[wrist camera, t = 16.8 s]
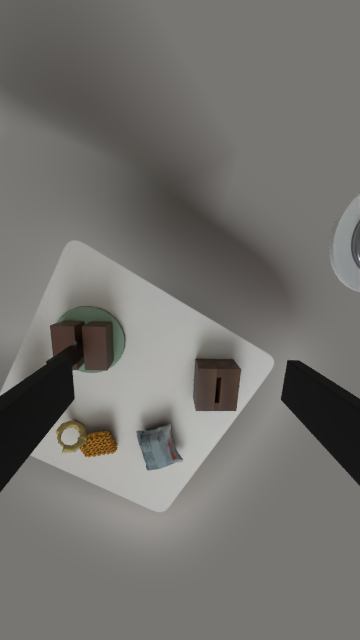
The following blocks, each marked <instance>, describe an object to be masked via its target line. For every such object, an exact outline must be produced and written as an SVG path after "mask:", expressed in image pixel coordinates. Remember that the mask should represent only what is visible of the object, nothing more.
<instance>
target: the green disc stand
mask: <svg viewBox="0 0 360 640" xmlns="http://www.w3.org/2000/svg"><path fill="white" fill-rule="evenodd" d="M50 329H51V339H52V348H53V357H54V356H55V355H57V354H58V353H60V352H61V351H63V350H64V349H66V348H67V347H69V346H70V345H73V346H75V341H76V340H78V339H80V338H81V337H83V351H84V357H83V358H82V359H81V360H80V361H79V362H77V363H76V364H75V365H74V366H73V367H72V370H79V371H82V372H87V373H97V372H102V371H105V370H108V369H109V368H111V367H112V366H113V365H115V364H116V363H117V362H118V360H119V359H120V357H121V356H122V354H123V351H124V348H125V335H124V332H123V329H122V327H121V325H120V324H119V322H118V321H117V320H116V319H115V317H113V316H112V315H111V314H110V313H108V312H106V311H104V310H102V309H100V308H96V307H89V306H88V307H79V308H76V309H73V310H71V311H69V312H67V313H66V314H64V315H63V316H62V317H61V318H60V320H59V321H58V323H56V324H53V325H51V326H50Z"/></svg>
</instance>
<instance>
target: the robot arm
mask: <svg viewBox="0 0 360 640" xmlns="http://www.w3.org/2000/svg"><path fill="white" fill-rule="evenodd" d="M351 252H352V257H353V260H354V262H355V263H356V265H357V266H358V268H359V269H360V220H359V222H358V223H357V225H356V227H355V229H354V232H353V235H352V240H351ZM74 399H75V397H74V385H73V373H72V361H71V357H56V358H55V359H53V360H52V361H50V362H49V363H48V364H46V365H45V366H43V367H42V368H40V369H39V370H37V371H36V372H35V373H33V374H32V375H30V376H29V377H27V378H26V379H24V380H23V381H21V382H20V383H19V384H17V385H16V386H14V387H13V388H11V389H10V390H8V391H7V392H6V393H4V394H3V395H1V396H0V492H1V491H2V489H3V488H4V487H5V486H6V484H7V483H8V482H9V481H10V479H11V478H12V477H13V475H14V474H15V473H16V472H17V470H18V469H19V468H20V467H21V465H22V464H23V463H24V462H25V460H26V459H27V458H28V457H29V455H30V454H31V453H32V452H33V450H34V449H35V448H36V447H37V445H38V444H39V443H40V442H41V440H42V439H43V438H44V437H45V435H46V434H47V433H48V432H49V430H50V429H51V428H52V427H53V425H54V424H55V423H56V422H57V420H58V419H59V418H60V417H61V415H62V414H63V413H64V411H65V410H66V409H67V408H68V406H69V405H70V404H71V403H72V401H73V400H74ZM281 400H282V401H283V402H284V404H286V406H287V407H288V408H289V409H290V410H291V411H292V412H293V413H294V414H295V415H296V417H297V418H298V419H299V420H300V421H301V422H302V423H303V424H304V425H305V426H306V428H307V429H308V430H309V431H310V432H311V433H312V434H313V435H314V436H315V437H316V438H317V440H318V441H319V442H320V443H321V444H322V445H323V446H324V447H325V448H326V449H327V450H328V451H329V453H330V454H331V455H332V456H333V457H334V458H335V459H336V460H337V461H338V462H339V464H340V465H341V466H342V467H343V468H344V469H345V470H346V471H347V472H348V473H349V474H350V475H351V477H352V478H353V479H354V480H355V481H356V482H357V483H358V484H359V485H360V399H359V398H358V397H356V396H354V395H353V394H351V393H350V392H348V391H347V390H345V389H343V388H342V387H340V386H339V385H337V384H336V383H334V382H332V381H331V380H329V379H327V378H326V377H324V376H323V375H321V374H320V373H318V372H316V371H315V370H313V369H312V368H310V367H309V366H307V365H305V364H304V363H302V362H300V361H295V360H288V361H287V367H286V373H285V378H284V384H283V390H282V396H281Z"/></svg>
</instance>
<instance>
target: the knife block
mask: <svg viewBox="0 0 360 640" xmlns="http://www.w3.org/2000/svg"><path fill="white" fill-rule="evenodd" d="M240 373H241V369H240V367H239V366H238V365H237V364H236V362H235V361H234V360H231V359H195V375H194V392H193V399H194V404H195V409H196V411H236V408H237V400H238V391H239V382H240Z"/></svg>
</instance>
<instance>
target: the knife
mask: <svg viewBox="0 0 360 640" xmlns="http://www.w3.org/2000/svg"><path fill="white" fill-rule="evenodd" d="M56 357H71V361H72V367H73V366H74V365H75V364H76V363H77V362H79V361H80V360H81V359H82V358H83V357H84V351H83V337H81V338H80V339H78V340H76V341H75V346H73V345H70V346H69V347H67V348H66V349H64V350H63V351H61V352H60V353H58V354H57V355H55V356H54V357H52V358H51V359H49V360H48V361H46V363H47V364H48V363H49V362H50V361H52V360H53V359H55V358H56Z"/></svg>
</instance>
